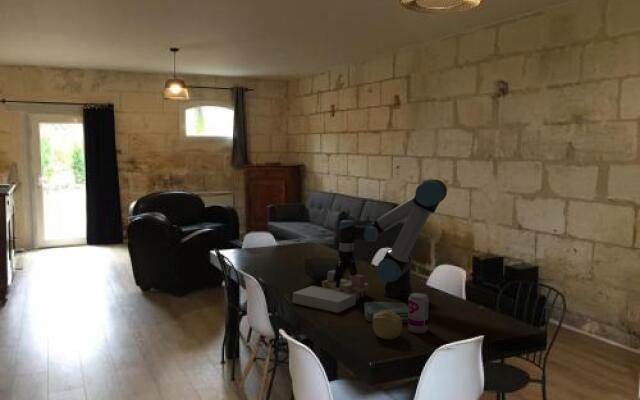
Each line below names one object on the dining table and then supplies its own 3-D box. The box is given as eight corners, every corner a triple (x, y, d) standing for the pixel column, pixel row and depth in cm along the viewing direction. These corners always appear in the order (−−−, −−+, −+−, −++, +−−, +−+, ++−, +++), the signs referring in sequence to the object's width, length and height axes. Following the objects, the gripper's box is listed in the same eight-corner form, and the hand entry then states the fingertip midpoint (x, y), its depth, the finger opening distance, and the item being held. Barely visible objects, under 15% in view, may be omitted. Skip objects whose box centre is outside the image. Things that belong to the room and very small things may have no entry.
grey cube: (339, 280, 270) (340, 271, 269) (335, 282, 266) (335, 273, 265) (332, 278, 272) (332, 270, 272) (327, 280, 269) (327, 271, 268)
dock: (355, 304, 249) (355, 294, 248) (338, 312, 235) (338, 301, 235) (311, 295, 263) (311, 285, 263) (292, 302, 250) (292, 292, 249)
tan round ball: (369, 339, 202) (370, 313, 201) (377, 329, 214) (377, 304, 213) (398, 343, 198) (398, 316, 197) (404, 333, 210) (405, 308, 209)
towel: (362, 309, 242) (362, 299, 242) (408, 310, 241) (408, 300, 241) (364, 322, 224) (365, 311, 223) (413, 323, 223) (414, 312, 223)
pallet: (369, 296, 264) (369, 283, 264) (358, 301, 255) (358, 288, 254) (333, 289, 276) (333, 277, 276) (321, 293, 267) (322, 281, 267)
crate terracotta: (364, 284, 262) (364, 275, 261) (359, 286, 258) (360, 277, 257) (356, 283, 264) (356, 274, 264) (351, 285, 260) (351, 275, 260)
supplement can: (416, 335, 208) (417, 298, 207) (403, 328, 215) (404, 293, 214) (431, 332, 212) (433, 296, 211) (419, 325, 219) (420, 291, 218)
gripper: (352, 246, 276) (351, 284, 278) (326, 253, 255) (325, 294, 257) (364, 247, 272) (363, 287, 274) (339, 255, 251) (338, 297, 253)
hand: (345, 290), depth 266 cm, fingers open, 13 cm apart
